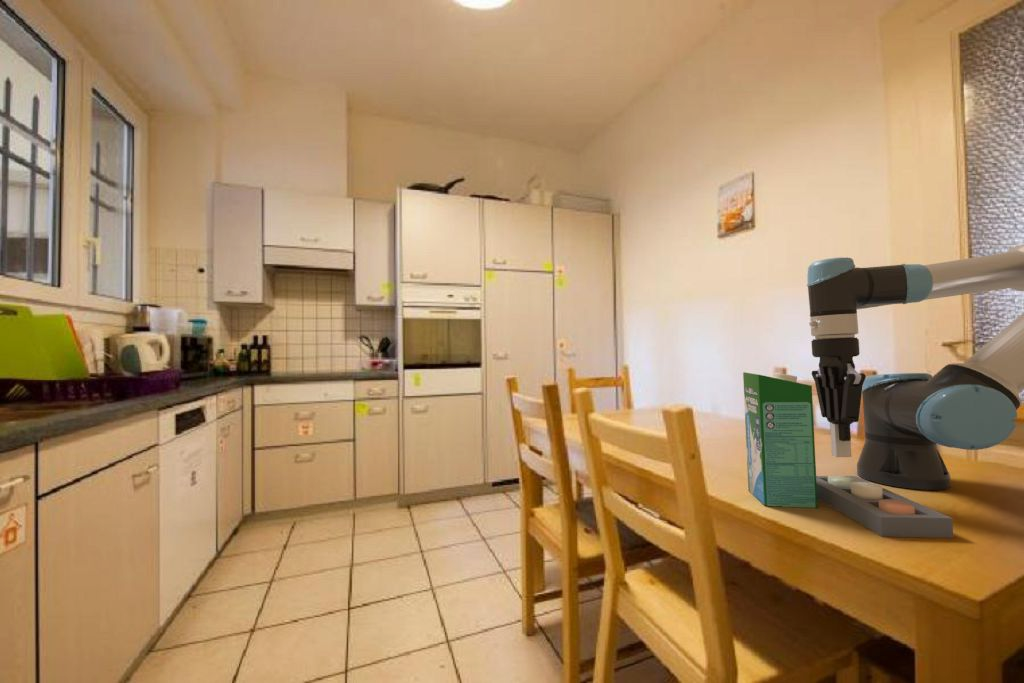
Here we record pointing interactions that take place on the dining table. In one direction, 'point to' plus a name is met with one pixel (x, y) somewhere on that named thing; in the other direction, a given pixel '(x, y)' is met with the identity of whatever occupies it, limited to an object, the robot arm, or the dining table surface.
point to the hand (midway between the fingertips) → (841, 456)
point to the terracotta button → (896, 507)
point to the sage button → (840, 480)
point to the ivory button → (866, 490)
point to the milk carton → (780, 440)
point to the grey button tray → (879, 520)
